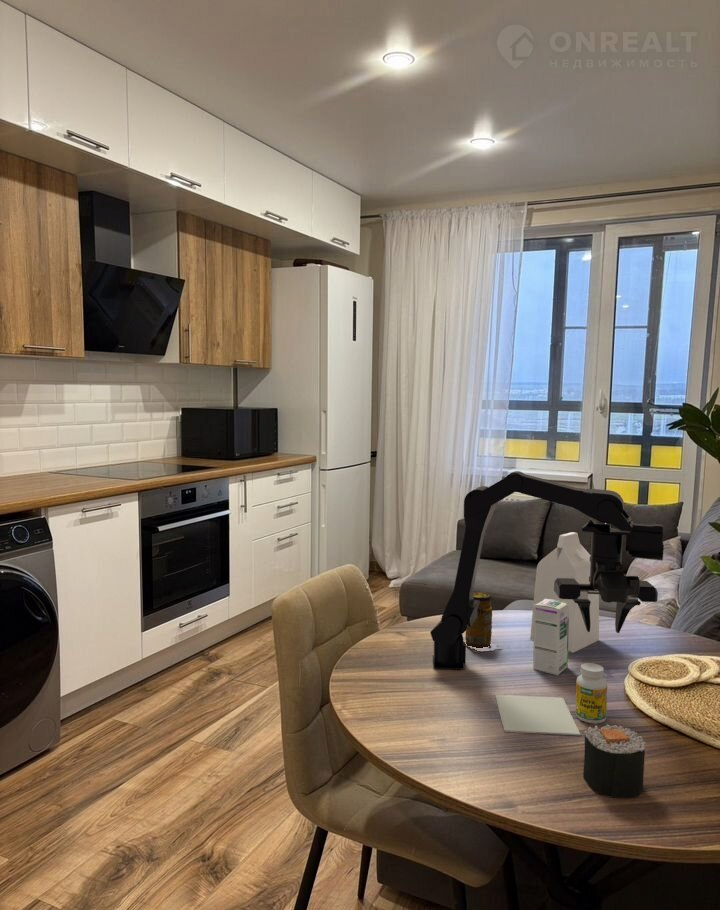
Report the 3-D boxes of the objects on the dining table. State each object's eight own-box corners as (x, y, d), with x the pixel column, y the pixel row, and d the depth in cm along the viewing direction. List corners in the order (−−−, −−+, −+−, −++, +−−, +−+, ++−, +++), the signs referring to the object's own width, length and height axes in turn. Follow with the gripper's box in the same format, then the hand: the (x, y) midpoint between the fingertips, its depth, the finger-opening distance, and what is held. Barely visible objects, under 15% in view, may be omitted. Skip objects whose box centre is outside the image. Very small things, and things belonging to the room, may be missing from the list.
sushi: (652, 797, 98) (655, 745, 98) (597, 799, 98) (600, 747, 97) (626, 767, 106) (628, 719, 106) (575, 769, 106) (577, 720, 105)
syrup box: (558, 676, 141) (560, 609, 140) (531, 669, 144) (533, 603, 143) (568, 667, 145) (570, 602, 144) (542, 660, 149) (544, 597, 148)
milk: (556, 627, 170) (560, 527, 168) (599, 640, 162) (603, 534, 160) (530, 638, 162) (533, 533, 160) (573, 652, 154) (577, 541, 152)
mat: (504, 731, 117) (504, 730, 117) (495, 696, 131) (495, 694, 131) (580, 735, 116) (580, 733, 116) (562, 699, 130) (562, 697, 130)
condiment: (483, 637, 163) (484, 589, 162) (502, 650, 155) (504, 599, 154) (457, 641, 161) (458, 592, 160) (475, 653, 153) (476, 602, 152)
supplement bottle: (605, 713, 125) (607, 663, 124) (606, 726, 119) (609, 674, 119) (575, 708, 126) (576, 659, 125) (575, 722, 121) (577, 670, 120)
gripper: (567, 563, 125) (564, 645, 126) (670, 566, 123) (666, 648, 125) (554, 550, 136) (551, 624, 137) (649, 552, 134) (645, 628, 136)
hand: (602, 631), depth 133 cm, fingers open, 5 cm apart
